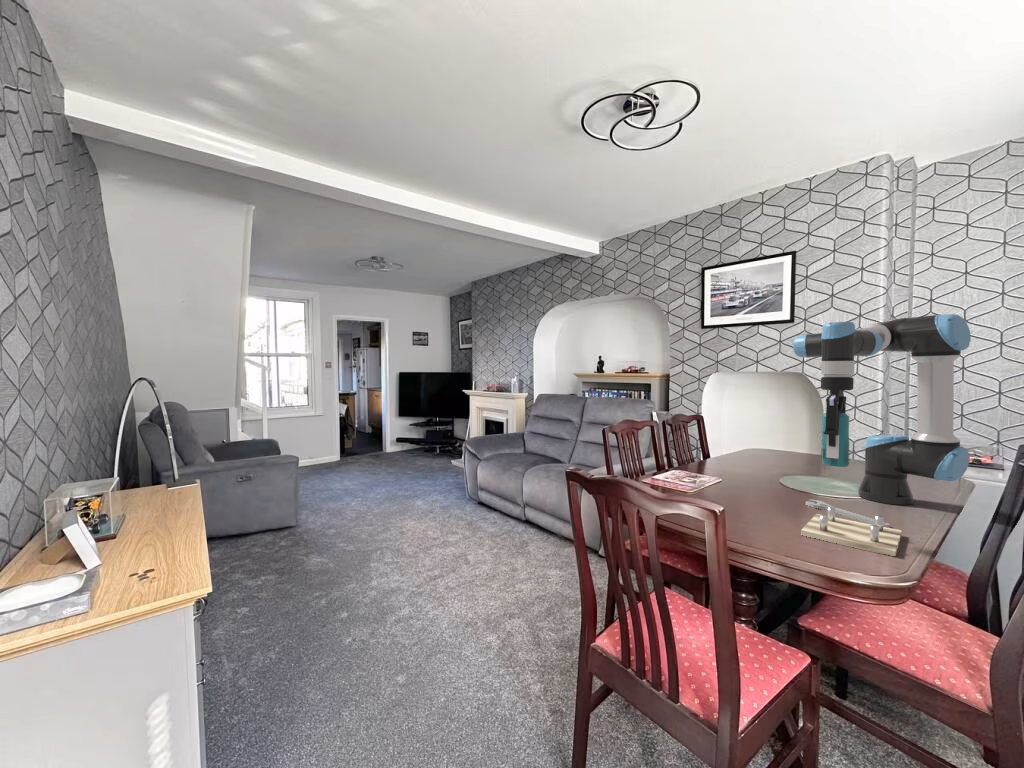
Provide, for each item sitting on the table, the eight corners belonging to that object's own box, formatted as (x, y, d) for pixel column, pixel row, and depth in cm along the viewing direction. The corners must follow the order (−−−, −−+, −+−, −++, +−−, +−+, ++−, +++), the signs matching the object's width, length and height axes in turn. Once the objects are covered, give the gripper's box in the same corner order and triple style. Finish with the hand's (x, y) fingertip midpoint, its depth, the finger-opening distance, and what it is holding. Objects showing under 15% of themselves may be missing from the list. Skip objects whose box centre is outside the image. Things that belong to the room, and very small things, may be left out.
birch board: (816, 518, 136) (816, 513, 136) (901, 535, 122) (901, 530, 122) (800, 535, 122) (801, 530, 122) (895, 557, 108) (895, 551, 108)
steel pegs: (828, 519, 131) (828, 506, 131) (883, 530, 122) (883, 516, 122) (819, 530, 122) (819, 516, 122) (878, 543, 113) (878, 527, 113)
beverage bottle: (855, 472, 122) (856, 401, 122) (832, 472, 122) (834, 401, 121) (836, 466, 129) (838, 399, 128) (815, 467, 128) (816, 399, 128)
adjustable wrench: (892, 529, 129) (892, 523, 128) (875, 531, 127) (875, 525, 127) (815, 503, 153) (815, 498, 153) (800, 504, 151) (800, 499, 151)
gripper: (828, 375, 134) (826, 450, 134) (813, 376, 120) (811, 458, 121) (859, 376, 128) (857, 453, 129) (846, 376, 115) (844, 463, 116)
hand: (835, 455), depth 125 cm, fingers closed on beverage bottle, 6 cm apart
